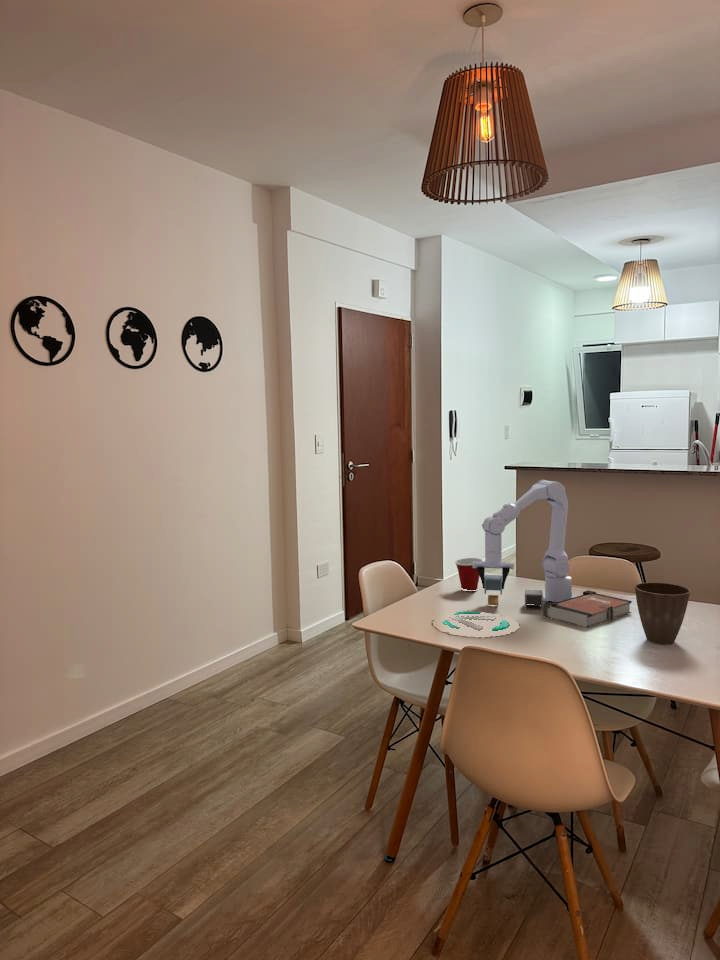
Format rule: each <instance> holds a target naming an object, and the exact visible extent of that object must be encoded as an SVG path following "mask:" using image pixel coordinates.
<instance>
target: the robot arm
mask: <svg viewBox="0 0 720 960" xmlns="http://www.w3.org/2000/svg"><path fill="white" fill-rule="evenodd" d="M537 500H546V501H547V502H548V503H549V504H550V505H551V506H552V509H551V519H550V521H551V522H550V531H549V543H548V549H547V550H545V552H544V557H543V559H542V561H541V568H542V569H543V571H544V594H543V595H544V596H543V601H544V602H548V601H552V602H553V603H557V602H560V601H564V600H567V599H570V598H573V597H572V596H573V590H572V587H573V586H572V585H573V584H572V582H573V581H572V576H569V575H568V574H569V572H570V569H571V568H570V567H571V566H570V563H569V556H568V554H567V553H566V551H565V547H566V535H567V523H568V512H569V500H568V497H567V494H566V488H565V486H564V485H563V484H562V483H561V482H558V481H551V480H546V479H541V480H538V481H537V483H534V484H533V485H532V486H531V488H530V489H529V490H528V491H526V492H525V493H524V494H523V495H522V496H521V497H520V498H518V499H517V500H516V501H515V502H513V503H507V504H503V505H502V508H500V509H499V510H498V511H497V512H493V514H492V516H487V517H486V518H485V519H484V521H483V523H482V524H481V527H482V529H483V531H484V544H485V545H484V558H485V560H483V561H482V562H473V568H477V571H478V574H479V579H480V580H481V585H482V589H484V590H485V586H484V579H485V575H486V574H485V572H486V571H485V569H501V571H502V573H501V575H502V590H505V583H506V581H507V578H508V575H509V573H510V570H515V562H507V561H503V560H502V541H503V540H502V539H503V538H502V533H504V531H505V529H506V526H508V525H509V524H511V523H512V522H513V521H514V520H516V519H517V518H518V517H519V516H520V511H522V510H524V509H525V508H526V507H529V505H530V504H532V503H534V502H535V501H537Z"/></svg>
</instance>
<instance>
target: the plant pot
mask: <svg viewBox="0 0 720 960" xmlns="http://www.w3.org/2000/svg"><path fill="white" fill-rule="evenodd" d="M634 592H635V599H636V604H637V610H638V615H639V618H640V622H641V626H642V630H643V632H644V635H645V637H646V640H647V641H648V642H649V643H652V644H657V645H665V646H667V645H673V644H674V643H675V641H676V639H677V637H678V635H679V632H680V631H681V628H682V625H683V622H684V619H685V615H686V611H687V607H688V603H689V598H690V593H691V590H690V589H689V588H687V587H684V586H682V585H677V584H674V583H665V582H640V583H638V584H635V586H634Z"/></svg>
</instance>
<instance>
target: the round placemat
mask: <svg viewBox="0 0 720 960" xmlns="http://www.w3.org/2000/svg"><path fill="white" fill-rule="evenodd" d="M462 611H463V610H462ZM465 611H466V612H465ZM470 611H471V610H464V611H463V612H461V611H455V612H456V613H455V614H454V615H459V614H480V613H481V612H480V611H479V612H475V611H476V610H472V611H471V612H470ZM449 618H451V619H452V620H455V621H458V622H459V623H462V624H464V625H466V626H467V627H471V628H473V629H475V630H478V631H480V630H482V629H483V626H480V625H476V624H474V623H472V622H468V621H465V620H466V619H469V620H472V619H474V620H477V619H478V620H487V621H488V620H491V621H494V620H495V619H496V617H495V616H491V617H490V616H486V617H485V616H480V617H479V616H475V617H474V616H472V617H469V616H467V617H464V616H461V617H459V616H456V617H449ZM463 619H465V620H463ZM448 621H449V620H444V622H442V623H443V624H444V625H448V626H449V627H451V628H456V629H459V628H460V627H457V626H455V625H452V624H451V623H450V622H448ZM445 623H446V624H445ZM509 626H510V624H509V622H507V621H506V620H502V621H501V622H500V625H499V626H495V627H494V628H492V631H498V630H503V629H506V628H508V627H509Z"/></svg>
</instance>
